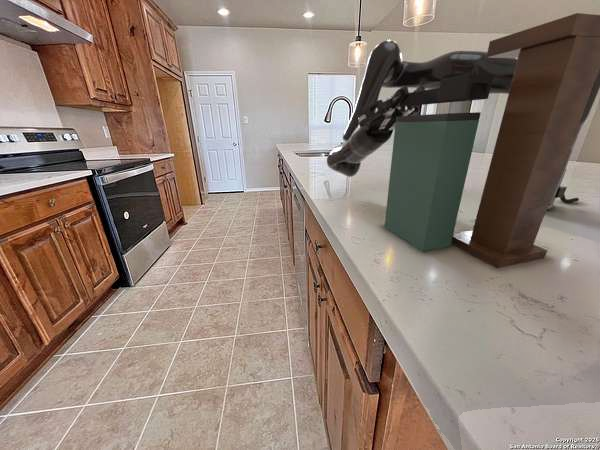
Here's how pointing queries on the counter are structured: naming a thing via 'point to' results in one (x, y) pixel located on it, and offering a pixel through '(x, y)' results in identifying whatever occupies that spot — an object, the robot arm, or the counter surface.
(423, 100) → the pad strip
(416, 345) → the counter surface
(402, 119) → the dark green tall block
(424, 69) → the robot arm
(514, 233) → the shelf stand
